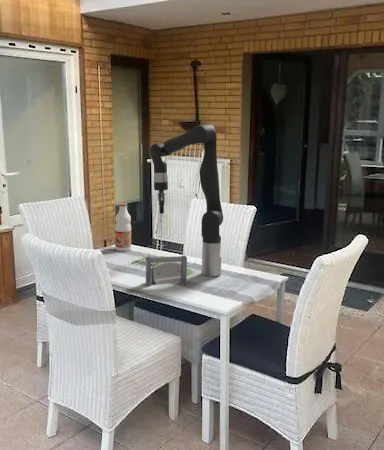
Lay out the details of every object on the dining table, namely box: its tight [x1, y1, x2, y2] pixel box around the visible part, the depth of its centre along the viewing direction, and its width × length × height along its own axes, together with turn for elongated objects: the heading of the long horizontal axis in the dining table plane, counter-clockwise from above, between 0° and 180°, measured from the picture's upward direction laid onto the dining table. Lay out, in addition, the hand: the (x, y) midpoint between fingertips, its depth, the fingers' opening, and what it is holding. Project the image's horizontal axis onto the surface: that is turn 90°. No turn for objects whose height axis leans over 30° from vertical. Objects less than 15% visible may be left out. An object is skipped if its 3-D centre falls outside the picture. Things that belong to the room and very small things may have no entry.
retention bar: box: [145, 255, 188, 287], centre depth 234 cm, size 19×4×13 cm, turn 102°
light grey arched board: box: [151, 262, 181, 286], centre depth 240 cm, size 17×5×10 cm, turn 119°
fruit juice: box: [114, 202, 132, 252], centre depth 294 cm, size 9×9×28 cm
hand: (161, 213), depth 267 cm, fingers closed
